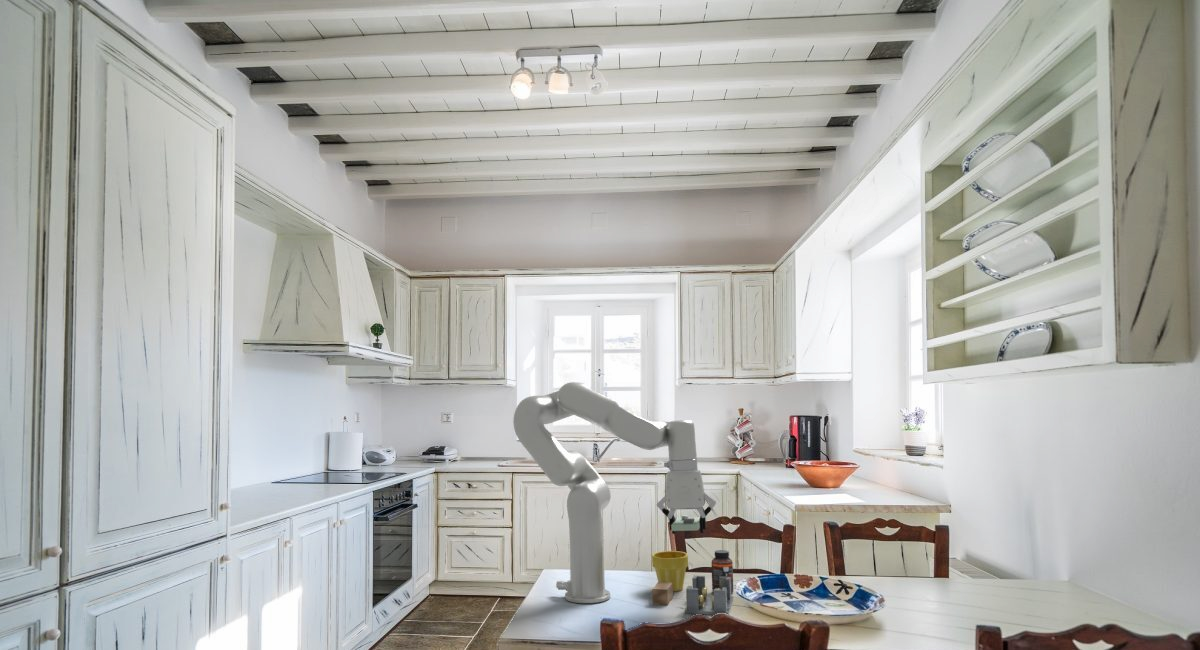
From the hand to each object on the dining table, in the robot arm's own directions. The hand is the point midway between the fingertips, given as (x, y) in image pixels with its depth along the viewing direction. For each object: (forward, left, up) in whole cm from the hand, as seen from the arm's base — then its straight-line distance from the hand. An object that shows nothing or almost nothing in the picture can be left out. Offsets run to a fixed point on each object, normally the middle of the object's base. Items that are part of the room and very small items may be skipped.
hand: (688, 532), depth 207 cm
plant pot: (-8, +15, -19) cm, 25 cm away
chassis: (+5, -1, -19) cm, 20 cm away
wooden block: (-8, +2, -19) cm, 20 cm away
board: (0, 0, +1) cm, 1 cm away
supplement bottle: (+7, +14, -19) cm, 24 cm away
